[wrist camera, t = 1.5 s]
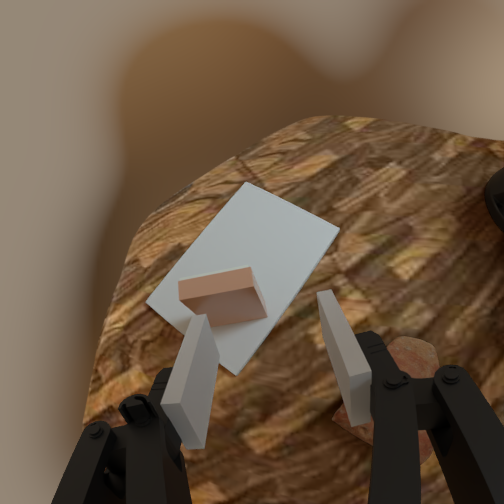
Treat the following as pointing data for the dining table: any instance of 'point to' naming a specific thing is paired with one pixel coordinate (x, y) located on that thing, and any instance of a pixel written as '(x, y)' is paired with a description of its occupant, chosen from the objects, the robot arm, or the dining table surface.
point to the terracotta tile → (224, 295)
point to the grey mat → (259, 259)
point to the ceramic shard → (417, 366)
